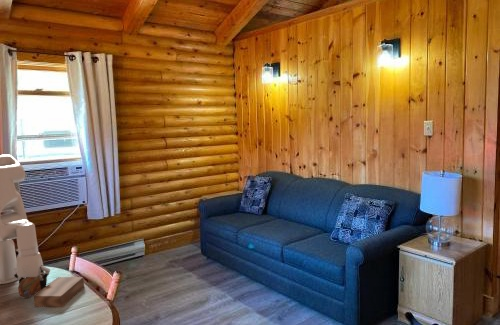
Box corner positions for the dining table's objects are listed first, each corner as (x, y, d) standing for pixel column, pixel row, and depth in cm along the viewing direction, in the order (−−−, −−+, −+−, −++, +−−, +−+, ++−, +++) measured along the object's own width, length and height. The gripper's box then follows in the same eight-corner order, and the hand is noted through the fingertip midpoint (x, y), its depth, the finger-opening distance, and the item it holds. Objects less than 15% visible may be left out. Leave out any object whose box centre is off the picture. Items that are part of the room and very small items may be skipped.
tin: (24, 301, 172) (21, 282, 171) (18, 300, 173) (15, 282, 172) (48, 285, 187) (46, 268, 185) (42, 285, 187) (40, 267, 186)
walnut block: (34, 307, 166) (33, 296, 165) (59, 287, 184) (58, 277, 183) (62, 307, 165) (60, 296, 164) (84, 287, 182) (83, 277, 182)
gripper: (4, 254, 174) (9, 291, 177) (41, 254, 172) (46, 291, 175) (15, 248, 181) (20, 284, 184) (51, 247, 180) (56, 284, 182)
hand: (33, 287), depth 179 cm, fingers open, 9 cm apart
